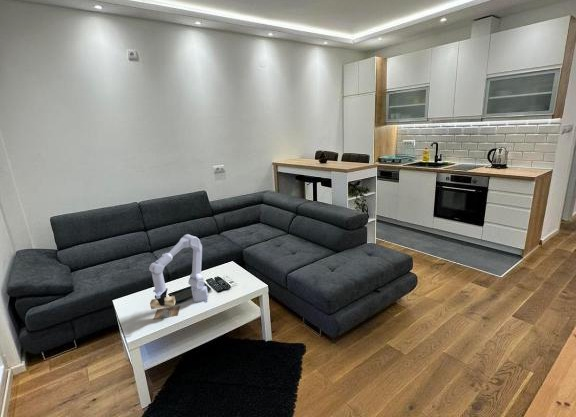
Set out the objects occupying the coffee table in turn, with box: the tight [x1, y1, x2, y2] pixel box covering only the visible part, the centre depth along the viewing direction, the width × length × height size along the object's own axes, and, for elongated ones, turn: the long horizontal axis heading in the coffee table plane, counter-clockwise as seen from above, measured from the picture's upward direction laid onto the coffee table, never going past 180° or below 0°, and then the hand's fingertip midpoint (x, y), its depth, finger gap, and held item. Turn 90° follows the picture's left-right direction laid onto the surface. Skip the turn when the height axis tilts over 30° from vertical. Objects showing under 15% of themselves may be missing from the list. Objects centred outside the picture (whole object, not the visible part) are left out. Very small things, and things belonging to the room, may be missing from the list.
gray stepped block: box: [161, 310, 171, 319], centre depth 181 cm, size 5×4×2 cm
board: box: [152, 305, 181, 321], centre depth 185 cm, size 14×11×1 cm
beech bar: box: [149, 295, 176, 310], centre depth 179 cm, size 13×4×4 cm, turn 100°
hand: (163, 303), depth 179 cm, fingers closed on beech bar, 4 cm apart
